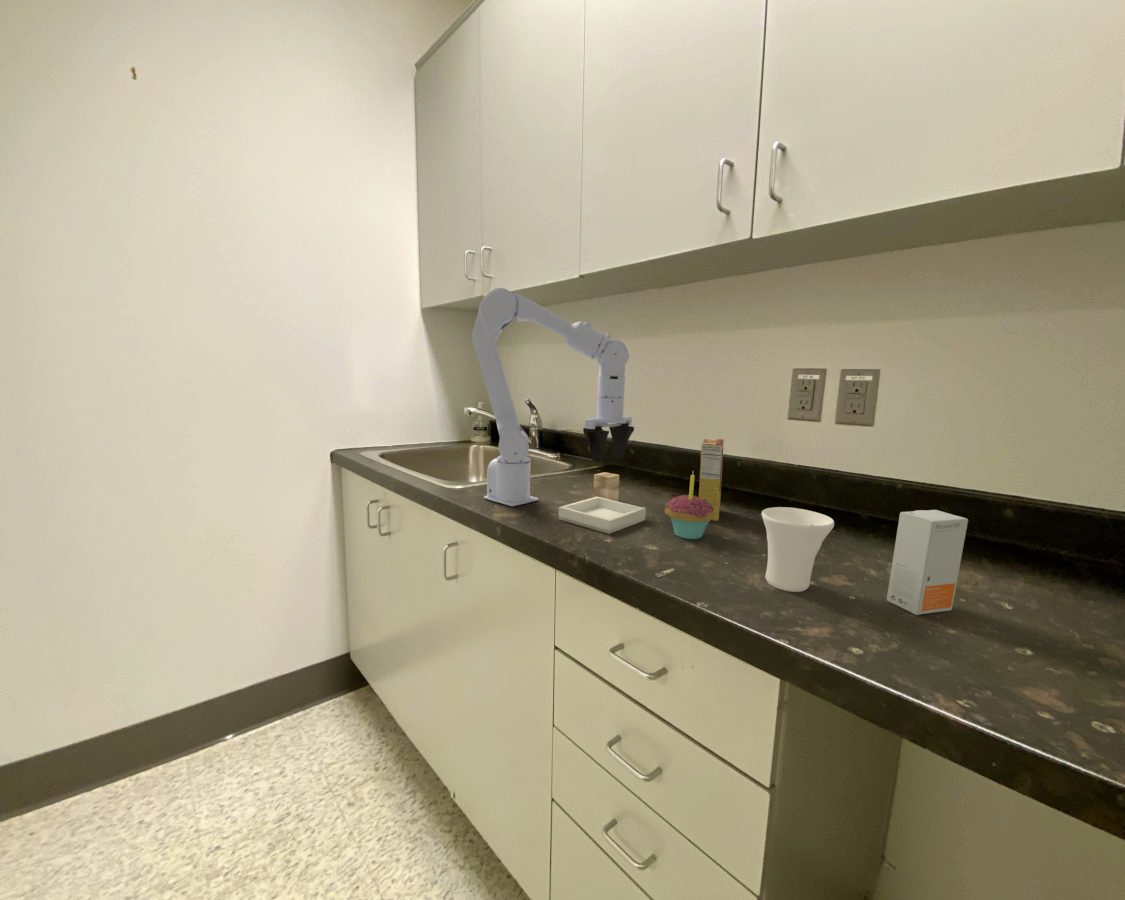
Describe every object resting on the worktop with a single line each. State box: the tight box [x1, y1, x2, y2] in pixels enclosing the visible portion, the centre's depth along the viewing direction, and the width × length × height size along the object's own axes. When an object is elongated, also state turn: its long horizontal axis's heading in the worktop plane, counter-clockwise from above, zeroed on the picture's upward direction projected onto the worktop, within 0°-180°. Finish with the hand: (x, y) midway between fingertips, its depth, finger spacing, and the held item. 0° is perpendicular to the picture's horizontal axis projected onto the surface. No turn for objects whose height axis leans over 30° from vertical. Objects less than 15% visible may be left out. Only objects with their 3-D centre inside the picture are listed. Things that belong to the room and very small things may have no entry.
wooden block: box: [592, 471, 620, 502], centre depth 107 cm, size 4×4×6 cm
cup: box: [761, 506, 835, 593], centre depth 66 cm, size 9×9×10 cm
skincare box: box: [886, 509, 969, 616], centre depth 60 cm, size 6×4×12 cm
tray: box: [557, 496, 647, 535], centre depth 93 cm, size 12×12×2 cm
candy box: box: [698, 438, 725, 522], centre depth 98 cm, size 9×4×15 cm, turn 160°
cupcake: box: [664, 470, 714, 540], centre depth 85 cm, size 9×8×12 cm
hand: (607, 459), depth 106 cm, fingers open, 7 cm apart
